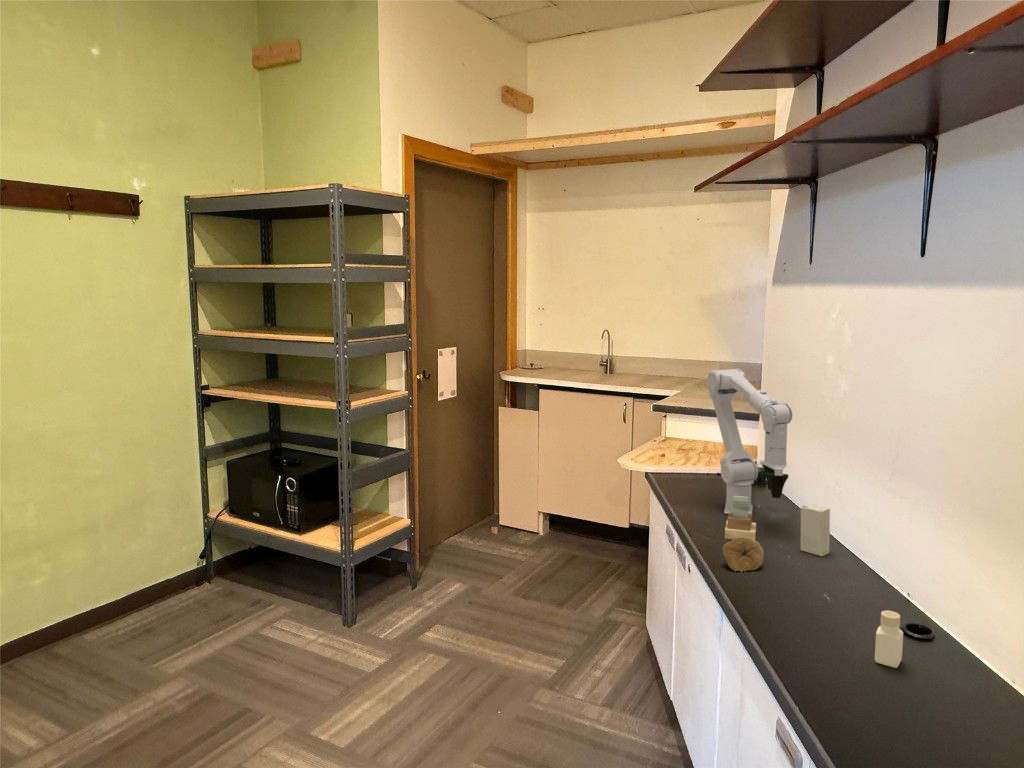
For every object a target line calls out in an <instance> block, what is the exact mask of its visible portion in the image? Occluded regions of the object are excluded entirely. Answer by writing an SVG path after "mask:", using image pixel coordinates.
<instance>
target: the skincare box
mask: <svg viewBox="0 0 1024 768" xmlns="http://www.w3.org/2000/svg"><path fill="white" fill-rule="evenodd" d="M830 511H831V508H828V507H825V506H824V507H823V506H820V505H815V504H812V503H806V504H805V505H804V504H803V506H801V507H800V550H801V552H806V553H810V554H812V555H817V556H819V557H824V556H826V555H828V554H829V553H830V535H831V533H830V531H831V529H830V528H831V527H830V525H831V522H830V520H831V519H830V518H831V517H830V516H831V512H830Z"/></svg>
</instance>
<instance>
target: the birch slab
mask: <svg viewBox="0 0 1024 768" xmlns="http://www.w3.org/2000/svg"><path fill="white" fill-rule="evenodd" d="M725 521H726V522H725V528H724V539H727V540H734V539H735V538H738V537H747V538H750V539H752V540H755V541H756V537H757V536H756V535H757V522H752V524H751V530H750V531H747V530H738V529H728V519H727V520H725Z"/></svg>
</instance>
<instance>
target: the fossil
mask: <svg viewBox="0 0 1024 768" xmlns="http://www.w3.org/2000/svg"><path fill="white" fill-rule="evenodd" d="M722 555H723V557H724V558H725V561H726V563H727V566H728V567H729V568H730V569H731V570H732V571H734V572H736V571H740V572H739V573H744V572H747V571H755V570H758V568H760V567H761V566H762V565H763V561H764V557H765V556H764V555H765V552H764V549H763V547H762V546H761V544H760V542H759V541H757V540H756V539H755V540H752V539H750V538H747V537H738V538H735V539H731V541H728V542H725V543H724V545H723V546H722ZM743 571H744V572H743Z"/></svg>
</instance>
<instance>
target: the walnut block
mask: <svg viewBox="0 0 1024 768" xmlns="http://www.w3.org/2000/svg"><path fill="white" fill-rule="evenodd" d="M727 515H728V516H727V520H728V529H738V530H747V531H750V530H751V524H752V517H753V516H752V515H753V512H752V513H748V519H746V518H734V517H733V512H731V511H730V512H729V514H727Z"/></svg>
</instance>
